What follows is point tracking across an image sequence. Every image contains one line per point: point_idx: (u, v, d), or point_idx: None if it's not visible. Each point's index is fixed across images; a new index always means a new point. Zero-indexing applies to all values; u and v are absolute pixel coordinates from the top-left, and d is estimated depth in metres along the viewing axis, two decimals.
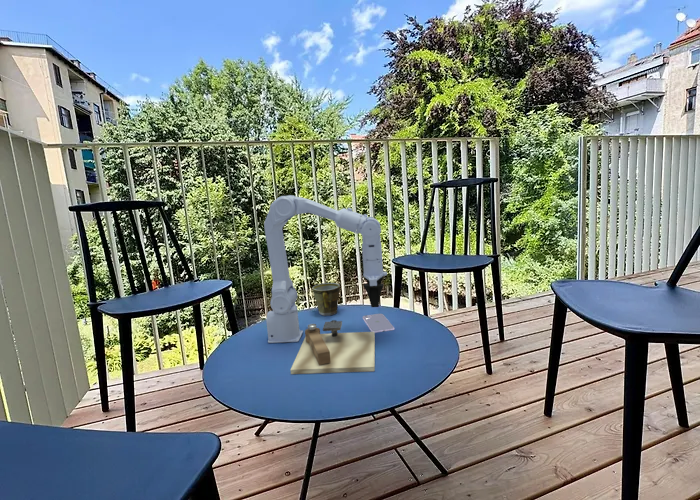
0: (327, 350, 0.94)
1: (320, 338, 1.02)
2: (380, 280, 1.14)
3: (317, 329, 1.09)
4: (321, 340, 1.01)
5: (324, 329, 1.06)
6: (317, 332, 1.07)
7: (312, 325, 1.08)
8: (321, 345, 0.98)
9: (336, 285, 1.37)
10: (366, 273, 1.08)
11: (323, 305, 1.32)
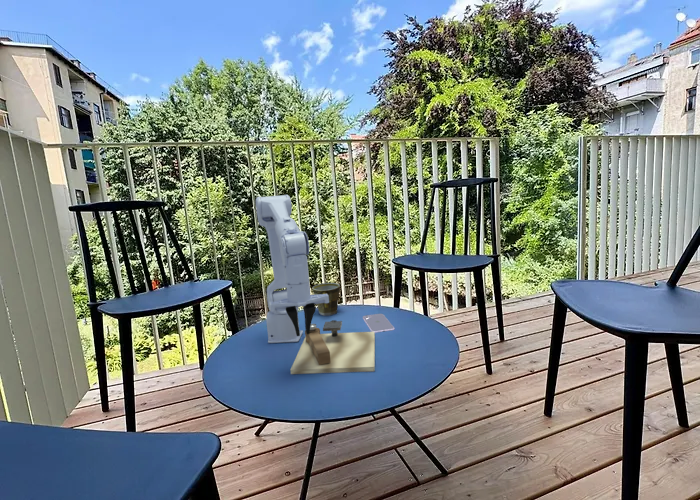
0: (327, 350, 0.94)
1: (320, 338, 1.02)
2: (306, 313, 0.91)
3: (317, 329, 1.09)
4: (321, 340, 1.01)
5: (324, 329, 1.06)
6: (317, 332, 1.07)
7: (312, 325, 1.08)
8: (321, 345, 0.98)
9: (336, 285, 1.37)
10: None
11: (323, 305, 1.32)
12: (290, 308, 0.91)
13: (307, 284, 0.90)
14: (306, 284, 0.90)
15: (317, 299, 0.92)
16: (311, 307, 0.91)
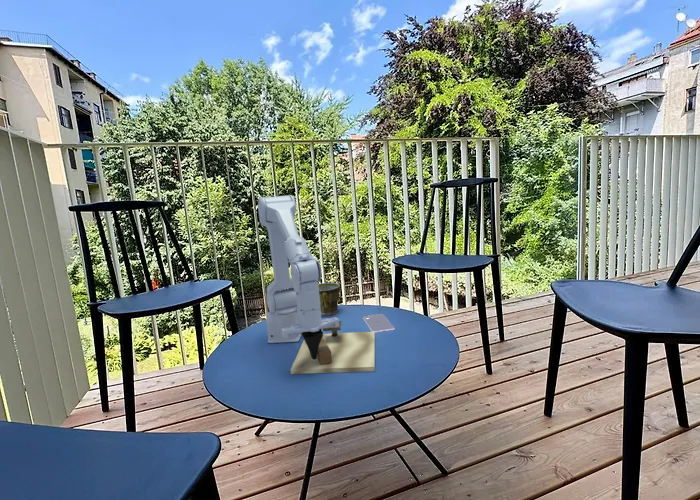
0: (328, 350, 0.95)
1: None
2: None
3: None
4: (322, 340, 1.01)
5: (324, 329, 1.06)
6: None
7: None
8: (322, 345, 0.98)
9: (336, 285, 1.37)
10: None
11: (323, 305, 1.32)
12: (306, 333, 0.93)
13: (319, 309, 0.92)
14: (318, 309, 0.92)
15: (328, 323, 0.94)
16: (318, 332, 0.93)
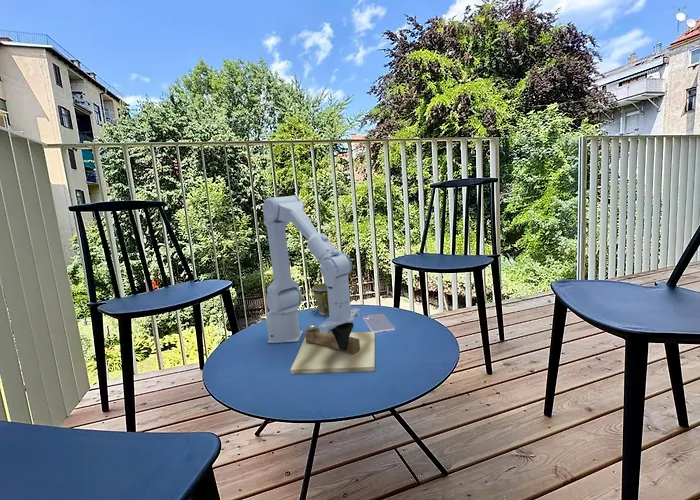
0: (356, 339, 1.00)
1: (332, 333, 1.05)
2: None
3: (316, 328, 1.10)
4: None
5: None
6: None
7: (312, 325, 1.08)
8: None
9: None
10: (329, 316, 0.97)
11: (323, 305, 1.32)
12: (340, 325, 0.96)
13: (349, 301, 0.97)
14: (349, 301, 0.97)
15: (355, 313, 1.00)
16: (349, 323, 0.98)
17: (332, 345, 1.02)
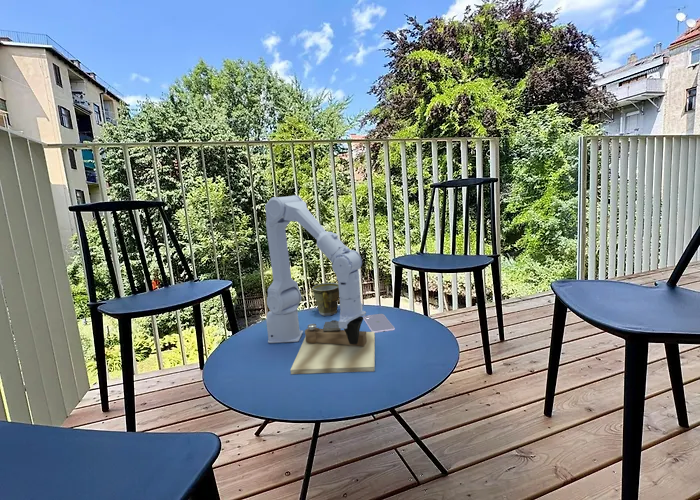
0: (363, 331, 1.05)
1: None
2: None
3: None
4: (340, 330, 1.07)
5: (324, 329, 1.06)
6: (320, 329, 1.09)
7: (312, 325, 1.08)
8: None
9: (336, 285, 1.37)
10: (341, 312, 0.99)
11: (323, 305, 1.32)
12: (352, 320, 0.99)
13: None
14: None
15: (361, 308, 1.04)
16: (359, 317, 1.02)
17: (339, 341, 1.05)
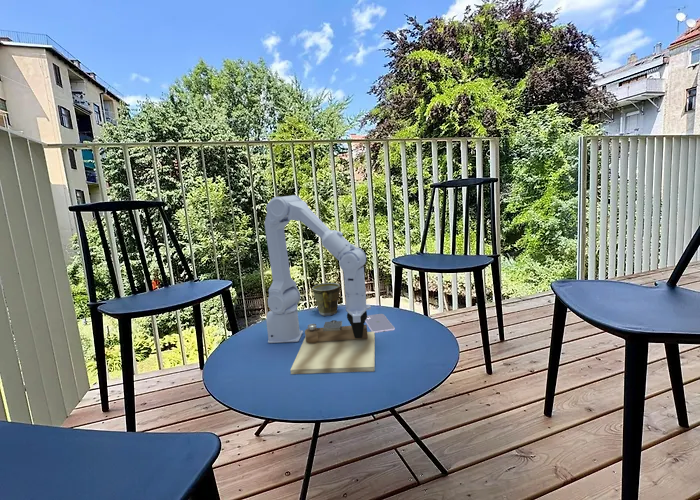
0: (364, 325, 1.09)
1: None
2: None
3: None
4: (341, 327, 1.09)
5: (324, 329, 1.06)
6: (320, 328, 1.10)
7: (312, 325, 1.08)
8: (351, 327, 1.09)
9: (336, 285, 1.37)
10: (349, 307, 1.03)
11: (323, 305, 1.32)
12: None
13: None
14: None
15: None
16: None
17: (342, 337, 1.07)
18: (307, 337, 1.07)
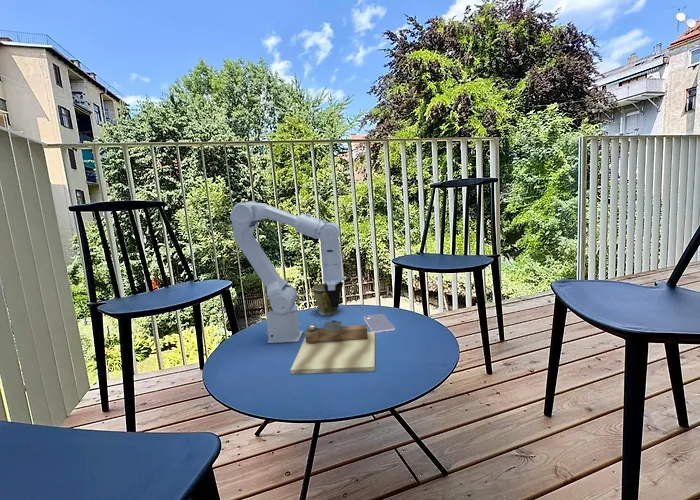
0: (364, 325, 1.09)
1: None
2: None
3: None
4: (341, 327, 1.09)
5: (324, 329, 1.06)
6: (320, 328, 1.10)
7: (312, 325, 1.08)
8: (351, 327, 1.09)
9: None
10: (325, 278, 1.10)
11: (323, 305, 1.32)
12: (336, 284, 1.10)
13: None
14: None
15: None
16: (340, 282, 1.13)
17: (342, 337, 1.07)
18: (307, 337, 1.07)
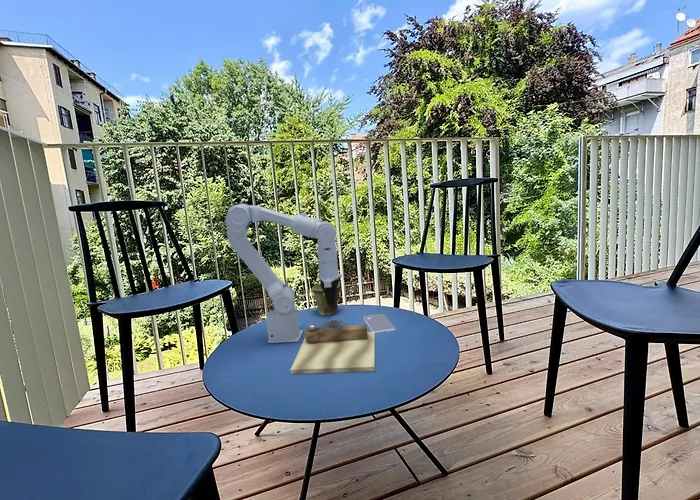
0: (364, 325, 1.09)
1: None
2: None
3: None
4: (341, 327, 1.09)
5: (324, 329, 1.06)
6: (320, 328, 1.10)
7: (312, 325, 1.08)
8: (351, 327, 1.09)
9: None
10: (322, 275, 1.13)
11: (323, 305, 1.32)
12: (331, 282, 1.13)
13: None
14: None
15: None
16: (335, 279, 1.17)
17: (342, 337, 1.07)
18: (307, 337, 1.07)
